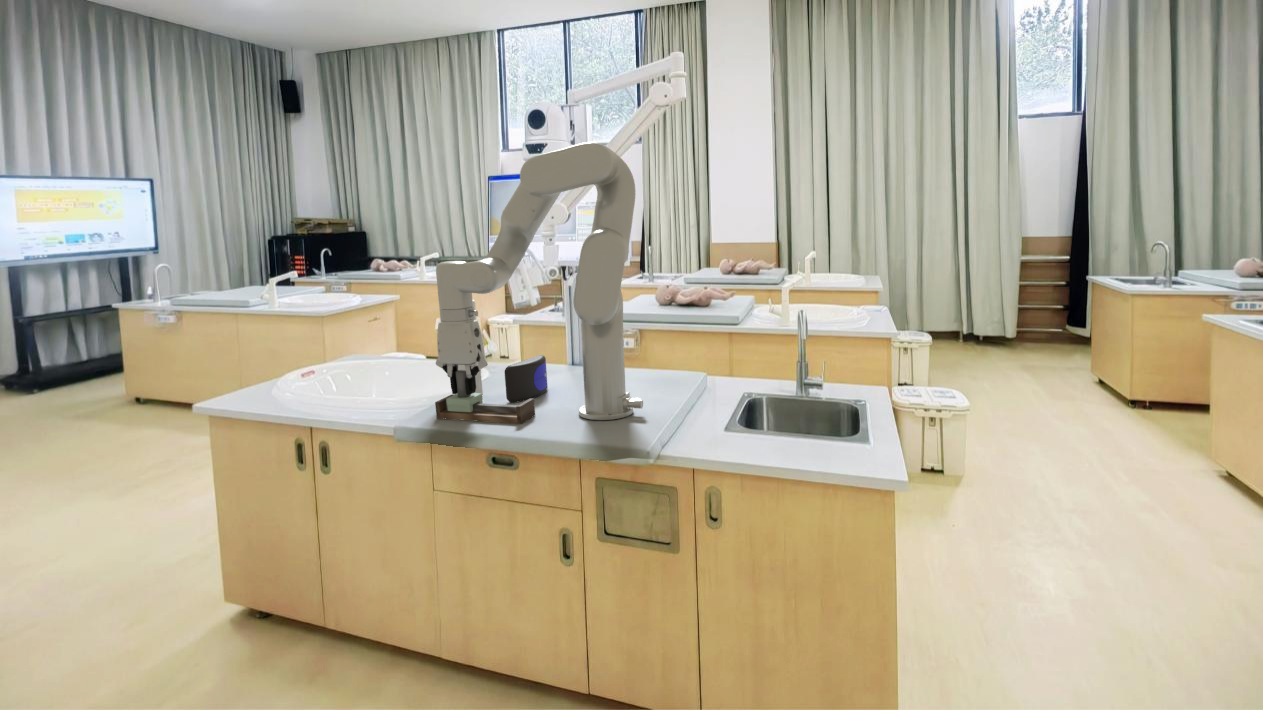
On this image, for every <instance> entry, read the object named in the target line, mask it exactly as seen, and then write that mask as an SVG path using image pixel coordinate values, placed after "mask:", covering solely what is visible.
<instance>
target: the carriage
mask: <svg viewBox="0 0 1263 710" xmlns="http://www.w3.org/2000/svg"><path fill="white" fill-rule="evenodd" d="M465 378H467V375H466V370H458V371H456V383H457V394H452V395H453V396H451V397H449V398H447V399H446V402H447V407H448V411H456V412H472V411H473V404H475V403H483V396H482V393H472V394H470V395H467V394H466V386H465Z"/></svg>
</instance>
